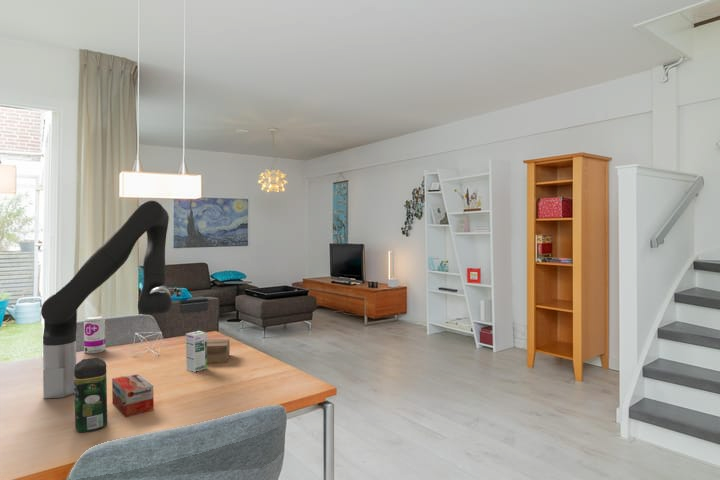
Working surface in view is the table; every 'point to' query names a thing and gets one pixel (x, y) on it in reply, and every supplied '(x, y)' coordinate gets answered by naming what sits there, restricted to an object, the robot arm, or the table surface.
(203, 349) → the syrup box
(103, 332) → the supplement can
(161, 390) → the table surface
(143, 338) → the geometric polyhedron
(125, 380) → the medicine box
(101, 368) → the coffee jar
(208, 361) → the walnut block
